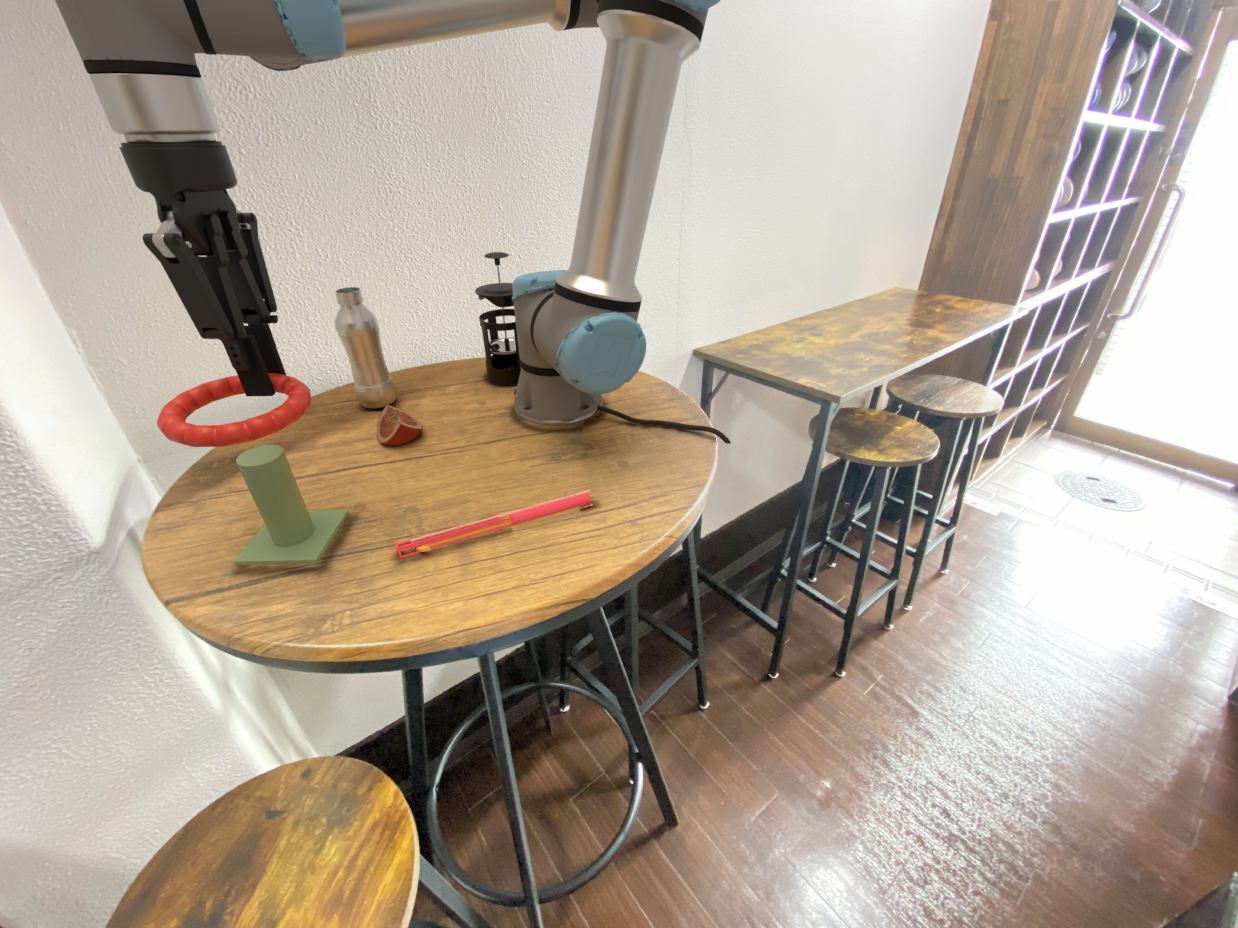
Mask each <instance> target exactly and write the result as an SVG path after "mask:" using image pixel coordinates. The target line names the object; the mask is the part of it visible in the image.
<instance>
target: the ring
mask: <svg viewBox="0 0 1238 928" xmlns="http://www.w3.org/2000/svg"><path fill="white" fill-rule="evenodd" d="M268 374H269V377H270V379H271V382H272V385H273V387H274V390H275V393H278V394H282V395H286V396H287V398H286V400H285V401H284V402H283V403H282V404H280V405H279V406H277V407H275V408H273V409H271V410H269V411H268V412H266V413H263V414H259V415H257V416H253V417H251V418H248V419H244V420H240V421H235V422H228V423H222V424H202V425H201V424H194V423H193V424H192V423H190V422H186V421H187V419H188V417H190V416H191V415H192V414H193V413H195V411H197V410H199V409H201V408H203V407H205V406H207V405H209V404H211V403H213V402H217V401H219V400H220V401H221V400H223V399H226V398H229V397H230V398H231V397H234V396H237V395H246V394H245V392H244V389H243V387H242V384H241V382H240V380H239V377H238V375H237V374H236V375H231V376H225V377H223V378H218V379H214V380H210V381H207V382H203V383H201V384H198V385H196V386H194V387H192V388H190V389H187V390H184V391H183V392H180V393H178V394H177V395H176V396H175V397H174V398H172V399H171V400H170V401H168V402H167V403H165V405H163V406H162V408H161V410H160V411H159V414H158V417H157V420H156V426H157V428H158V429H159V430H160V432H161V433H162V434H163V435H164V437H165V438H166V439H167V440H169V441H171V442H174V443H177V444H179V445H180V444H181V445H185V446H188V447H193V448H222V447H228V446H233V445H239V444H244V443H250V442H255V441H256V440H259V439H262V438H265V437H267V436H270V435H273V434H276V433H278V432H279V433H280V431H283V430H284V429H286V428H288V427H289V426H291V425H292V424H294V423H295V422H297V421H299V420H300V419H301V418H302V416H303V415H304V414H305V413H306V412H307V410H308V409H309V408H310V407H311V404H312V398H311V397H312V396H311V395H312V393H311V390H310V389H311V388H309V386H307V384H305V383H304V382H302V381H301V380H299V379H298V378H297V377H294V376H292V375H287V374H286V375H287V376H286V375H281V374H277V373H268Z"/></svg>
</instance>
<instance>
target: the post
mask: <svg viewBox="0 0 1238 928" xmlns="http://www.w3.org/2000/svg"><path fill="white" fill-rule="evenodd" d="M235 463H236V465H237V467H238V469H239V472H240V474H241V476H242V478H243V480H244V482H245V485H246V487H247V488H248V491H249V494H250V495H251V498H252V500H253V502H254V503H255V507H256V508H257V510H258V512H259V515H260V516H261V519H262V521H263V523H264V524H263V525H262V527H261V528H260V529H259V530H258V531H257V532H256V533H255V535H254V536H253V537H252V538H251V540H250V541H249V542H248V544H247V545H246V546H245V547H244V548H243V549H242V551H241V552H239V555H238V556H236V558H235V560H233V563H234V565H235V566H259V565H261V566H262V565H263V566H265V565H300V564H301V565H303V564H304V565H305V564H318V563H319V562H320V560H321V558H322V557H323V556H324V555H325V552H326V551H327V549H328V547H329V546H330V544H331V543H332V541H333V539H334V538H335V536H336V535H337V534H338V532H339V530H340V528H342V525H343V524H344V522H345V521H346V519H347V517H348V516H349V514H350V513H349V510H348V509H331V510H328V509H327V510H308V506H307V505H306V502H305V500H304V498H303V495H302V492H301V490H300V487H299V484H298V482H297V480H296V478H295V475H294V473H293V470H292V468H291V465H290V462H289V460H288V457H287V455H286V453H285V450H284V448H283V447H282V446H280V445H278V444H262V445H258V446H255V447H252V448H249V449H247V450H245V451H243V452H242V453H240V454H239V455H238V456H237V457H236V460H235Z"/></svg>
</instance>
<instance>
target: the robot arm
mask: <svg viewBox="0 0 1238 928" xmlns="http://www.w3.org/2000/svg"><path fill="white" fill-rule="evenodd" d="M54 2H55V4H56V6H57V9H58V10H59V13H60V15H61V17H62V19H63V21H64V24H65V26H66V28H67V30H68V32H69V34H70V37H71V39H72V41H73V43H74V45H75V47H76V50H77V52H78V54H79V56H80V60H81V61H82V64H83V66H84V69H85V72H86V73H87V74H88V76H89V79H90V81H91V84H92V86H93V88H94V90H95V93H96V95H97V97H98V100H99V102H100V104H101V107H102V109H103V111H104V114H105V117H106V119H107V121H108V124H109V126H110V128H111V130H112V132H114V133H115V134H117V135H123V137H124V139H125V141H126V142H125V141H124V142H120V146H119V147H118V149H119V150H120V152H121V155H122V157H123V159H124V162H125V164H126V166H127V169H128V171H129V173H130V176H131V178H132V180H133V182H134V185H135V186H136V188H137V189H139V190H140V191H142V192H145V193H148V194H151V196H153V198H154V201H155V205H156V211H157V212H156V213H157V217H158V220H159V222H160V226H159V228H158V229H157V230H156V232H147V233H146V232H145V233H143V235H142V242H143V243H144V245H145V247H146V248H147V249H148V250H149V251H150V253H151V254H152V255H153V256H154V257H155V258H156V259H157V260H158V262H159V263H160V264H161V266H162V268H163V270H164V272H165V273H166V276H167V277H168V279H169V281H170V283H171V284H172V287H173V288H174V290H175V292H176V294H177V296H178V298H179V299H180V302H181V303H182V304H183V305H182V306H183V307H184V308H185V310H186V312H187V314H188V316H189V318H190V319H191V322H192V323H193V325H194V327H195V328H196V331H197V332H198V334H199V336H200V338H201V339H204V340H219V341H221V343H222V345H223V347H224V349H225V352H226V354H227V357H228V359H229V362H230V365H231V367H232V368H233V369H234V370H235V372H236V376H237V375H238V377H239V380H240V382H241V384H242V387H243V389H244V392H245V394H244V395H245V397H273V396H274V395H276V392H275V390H274V387H273V385H272V382H271V379H270V377H269V374H268V373H277V374H281V375H286V376H288V375H287V373H286V370H285V367H284V364H283V361H282V359H281V355H280V353H279V350H278V348H277V343H276V341H275V339H274V335H273V333H272V330H271V327H270V324H277V323H278V322H279V316H278V314H271V313H277V311H278V305H277V301H276V297H275V293H274V291H273V286H272V283H271V279H270V276H269V271H268V267H267V264H266V260H265V257H264V253H263V249H262V246H261V242H260V239H259V231H258V230H259V226H258V219H257V216H256V215H255V213H253V212H242V211H240V210H238V209H237V207H236V204H235V202H234V201H233V199H232V198H231V196H230V194H229V192H228V190H229V189H233V188H235V187H236V186H237V185H238V179H237V176H236V173H235V170H234V167H233V165H232V161H231V158H230V155H229V153H228V150H227V146H226V145H225V144H223V143H222V141H220V140H217V138H216V135H215V134H219V133H220V131H221V128H220V124H219V122H218V119H217V116H216V113H215V111H214V108H213V106H212V102H211V100H210V97H209V94H208V91H207V89H206V86H205V83H204V80H203V78H202V75H201V71H200V69H199V67H198V64H197V60H196V55H195V54H205V55H210V56H211V55H212V56H213V55H214V56H216V55H223V56H240V57H248V58H250V59H251V60H253V61H254V62H256V63H257V64H260V65H261V66H263V67H265V68H266V69H269V70H272V71H276V72H287V71H295V70H297V69H300V68H301V67H302V66H305V65H311V64H316V63H322V62H329V61H333V60H339V59H341V58H348V57H354V56H359V55H366V54H372V53H377V52H383V51H388V50H394V49H400V48H405V47H411V46H417V45H422V44H429V43H434V42H440V41H447V40H452V39H458V38H464V37H469V36H476V35H481V34H487V33H492V32H498V31H505V30H510V29H517V28H522V27H529V26H533V25H540V24H545V23H546V24H547V25H548V26H549V27H550V28H551V29H552V30H554V31H555V32H563V31H569V30H574V29H586V28H588V29H589V28H599V29H600V32H601V34H602V36H603V37H604V40H605V43H606V46H605V53H604V57H603V65H602V71H601V77H600V83H599V89H598V95H597V102H596V107H595V114H594V120H593V126H592V127H593V128H592V133H591V137H590V144H589V149H588V157H587V163H586V169H585V173H584V180H583V186H582V191H581V199H580V204H579V211H578V216H577V223H576V229H575V234H574V240H573V247H572V253H571V258H570V264H569V266H568V269H555V270H544V271H534V272H529V273H524V274H521V275H518V276H516V277H515V278H514V279H513V281H512V283H513V285H512V288H513V297H512V301H513V303H514V306H513V309H514V312H515V316H514V320H515V321H514V322H516V330H517V338H518V347H519V356H520V365H521V372H520V376H519V381H518V385H516V388H515V389H514V392H513V396H514V398H513V409H514V412H515V414H516V416H518V418H520V419H522V420H524V421H526V422H528V423H531V424H535V425H541V426H548V427H549V426H550V427H557V426H558V427H559V426H570V425H575V424H579V423H582V422H583V425H584V426H585V425H587V424H589V423H591V422H593V421H595V420H596V419H598V417H600V416H601V414H602V412H603V413H605V414H609V415H612V416H615V417H618V418H620V419H622V420H625V421H627V422H630V423H633V424H637V425H644V426H661V427H669V428H676V429H681V430H686V431H698V432H699V431H700V432H707V433H710V434H712V435H713V434H714V435H715V436H717V437H718V438H720V439H721V440H722V442H724V443H725V444H727V445H731V444H732V441H731V440H730V439H729V438H728V437H727V436H726V434H724V433H723V432H721V431H720V430H719V429H717V428H715V427H711V426H708V425H707V426H706V425H698V424H697V425H695V424H687V423H681V422H675V421H668V420H660V419H641V418H637V417H632V416H630V415H628V414H625V413H623V412H620V411H618V410H615V409H612V408H610V407H607V406H604V401H603V400H604V399H603V395H605V394H609V393H612V392H615V391H616V390H617V391H618V390H619V389H620V388H622V386H624V385H625V384H626V383H629V382H631V380H632V379H634V377H635V376H636V374H637V373H638V372H639V371H640V370H641V369H640V368H641V367H642V365H643V362H644V360H645V357H646V353H647V338H646V336H645V334H644V331H643V328H642V327H641V325H640V323H638V320H639V319H638V318H639V314H640V309H641V305H642V301H643V296H642V294H641V292H640V290H639V289H638V287H637V285H636V282H635V280H636V275H637V270H638V266H639V261H640V256H641V251H642V248H643V242H644V238H645V234H646V229H647V225H648V220H649V215H650V211H651V206H652V202H653V197H654V192H655V189H656V183H657V180H658V174H659V170H660V165H661V162H662V156H663V152H664V147H665V142H666V138H667V133H668V130H669V125H670V120H671V115H672V111H673V105H674V103H675V96H676V92H677V88H678V83H679V78H680V74H681V70H682V66H683V63H684V62H685V61H686V60H688V59H689V58H690V57H691V56H693V55H694V54H695V53H697V52H698V51H699V50H700V47H701V44H702V38H703V33H704V30H705V25H706V21H707V17H708V13H709V9H710V8H712V7H714V6H716V5H717V4H718V3H720V2H721V0H54Z"/></svg>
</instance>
